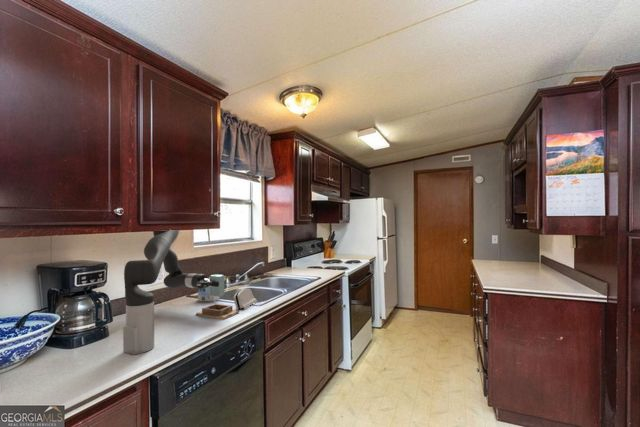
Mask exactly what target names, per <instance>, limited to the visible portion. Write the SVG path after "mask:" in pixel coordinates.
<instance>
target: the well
mask: <svg viewBox="0 0 640 427" xmlns="http://www.w3.org/2000/svg"><path fill="white" fill-rule="evenodd" d="M239 312H240V311H239V310H235V309H233V305H228V304H221V303H213V304H211V305H208V306H205V307H202V308H201V310H200V311H198V312H196V313H195V316H199V317H205V318H210V319H211V318H212V319H217V318H218V320H226V319H228V318H231V317H233V316H235V315H237V314H240V313H239Z"/></svg>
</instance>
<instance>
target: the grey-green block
mask: <svg viewBox="0 0 640 427" xmlns="http://www.w3.org/2000/svg"><path fill="white" fill-rule="evenodd" d="M209 278H210V281H212V282H219V286H218V287H214V286H212V287H210V295H211V296H219V297H222V296H225V292H226V289H225V285H226V280H225V275H224V274H216V273H215V274H211V275H209ZM224 280H225V281H224Z"/></svg>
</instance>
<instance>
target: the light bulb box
mask: <svg viewBox="0 0 640 427" xmlns="http://www.w3.org/2000/svg"><path fill="white" fill-rule="evenodd" d="M219 299H220V296H211V295H210V287H205V288H203V289H198V288H197V301H198V302H200V301H201V302H215V301H217V300H219Z"/></svg>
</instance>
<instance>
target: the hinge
mask: <svg viewBox="0 0 640 427" xmlns="http://www.w3.org/2000/svg"><path fill="white" fill-rule="evenodd" d="M233 302H234V305H235V309H236V311H239V310H240V309H242V308H243V310H244V311H246V310H247V309H249V308H250V307H251V306H250V305H252V304H253V303H255V304H256V303H258V300H257V298H255V296H254V294H253V292H252V290H251V289H250V288H243V289H240V290H238V291H237V292H236V293H235V294H234V296H233ZM253 305H254V304H253ZM253 305H252V306H253ZM248 307H249V308H248Z"/></svg>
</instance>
